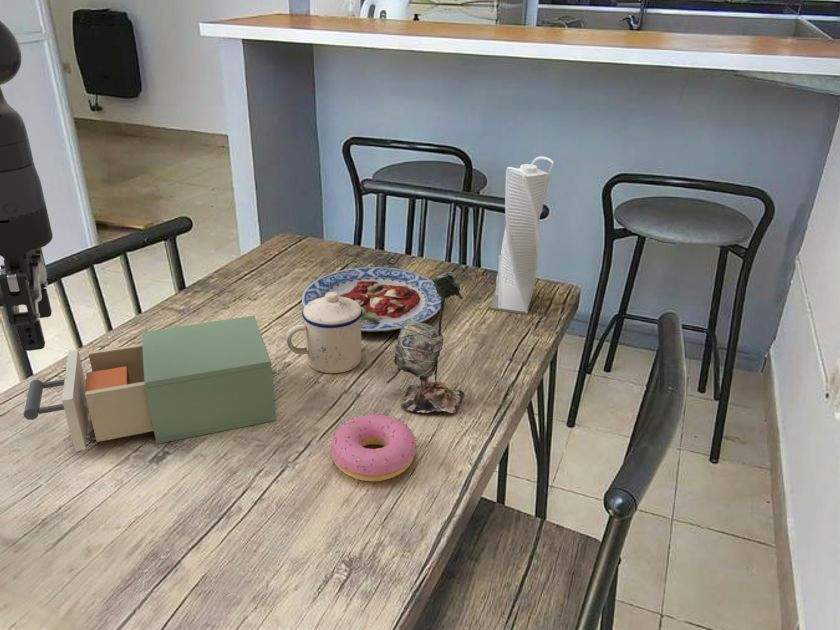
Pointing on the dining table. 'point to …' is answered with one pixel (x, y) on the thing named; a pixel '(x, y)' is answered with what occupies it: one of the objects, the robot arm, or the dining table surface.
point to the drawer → (99, 397)
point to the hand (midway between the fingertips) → (39, 332)
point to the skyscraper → (520, 237)
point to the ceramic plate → (380, 295)
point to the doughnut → (373, 461)
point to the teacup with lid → (330, 333)
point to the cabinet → (207, 378)
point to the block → (107, 378)
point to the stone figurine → (426, 357)
